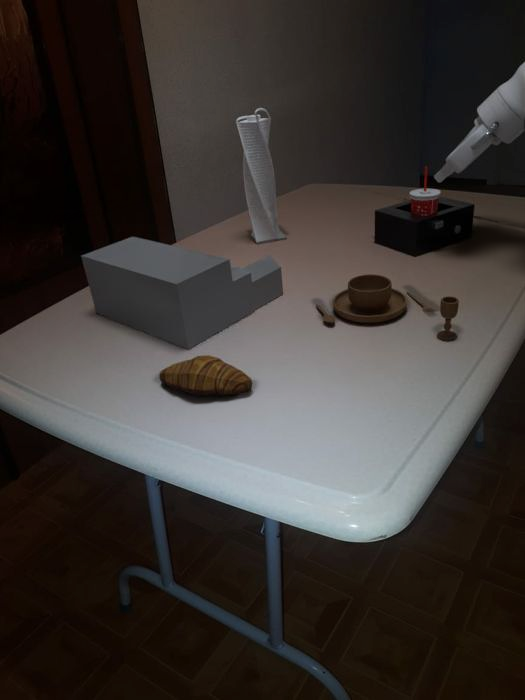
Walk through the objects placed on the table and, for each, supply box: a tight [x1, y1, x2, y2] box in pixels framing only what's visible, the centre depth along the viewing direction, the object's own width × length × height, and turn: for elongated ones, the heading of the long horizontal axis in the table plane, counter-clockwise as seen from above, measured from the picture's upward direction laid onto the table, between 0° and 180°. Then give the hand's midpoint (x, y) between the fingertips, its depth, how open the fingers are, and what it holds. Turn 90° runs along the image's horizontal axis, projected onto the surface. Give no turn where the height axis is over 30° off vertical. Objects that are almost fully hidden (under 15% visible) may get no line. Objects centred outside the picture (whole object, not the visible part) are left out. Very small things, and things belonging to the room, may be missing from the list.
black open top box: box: [374, 196, 476, 258], centre depth 115 cm, size 16×13×7 cm
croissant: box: [159, 354, 253, 396], centre depth 74 cm, size 14×7×5 cm, turn 71°
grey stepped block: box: [80, 236, 284, 350], centre depth 97 cm, size 25×23×11 cm
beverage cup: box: [409, 166, 442, 216], centre depth 114 cm, size 6×6×14 cm
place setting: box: [315, 273, 460, 342], centre depth 86 cm, size 18×20×6 cm
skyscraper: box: [235, 107, 287, 245], centre depth 121 cm, size 8×8×28 cm
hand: (442, 173), depth 110 cm, fingers open, 8 cm apart
